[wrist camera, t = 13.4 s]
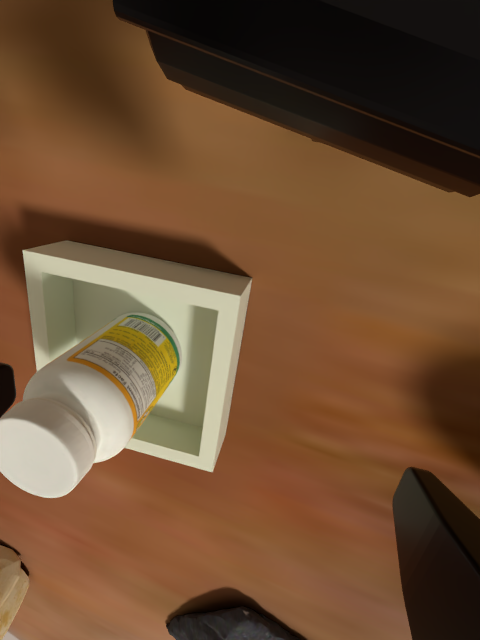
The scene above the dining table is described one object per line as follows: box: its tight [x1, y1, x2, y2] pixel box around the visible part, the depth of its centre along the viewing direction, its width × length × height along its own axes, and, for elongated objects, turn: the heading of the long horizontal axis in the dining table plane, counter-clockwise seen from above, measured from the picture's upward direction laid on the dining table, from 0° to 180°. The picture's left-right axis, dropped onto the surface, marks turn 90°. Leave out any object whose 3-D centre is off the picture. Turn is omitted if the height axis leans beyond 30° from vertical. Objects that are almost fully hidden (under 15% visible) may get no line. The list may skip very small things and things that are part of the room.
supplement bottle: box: [0, 312, 182, 498], centre depth 17 cm, size 5×5×10 cm
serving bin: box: [23, 240, 252, 472], centre depth 21 cm, size 12×12×4 cm
